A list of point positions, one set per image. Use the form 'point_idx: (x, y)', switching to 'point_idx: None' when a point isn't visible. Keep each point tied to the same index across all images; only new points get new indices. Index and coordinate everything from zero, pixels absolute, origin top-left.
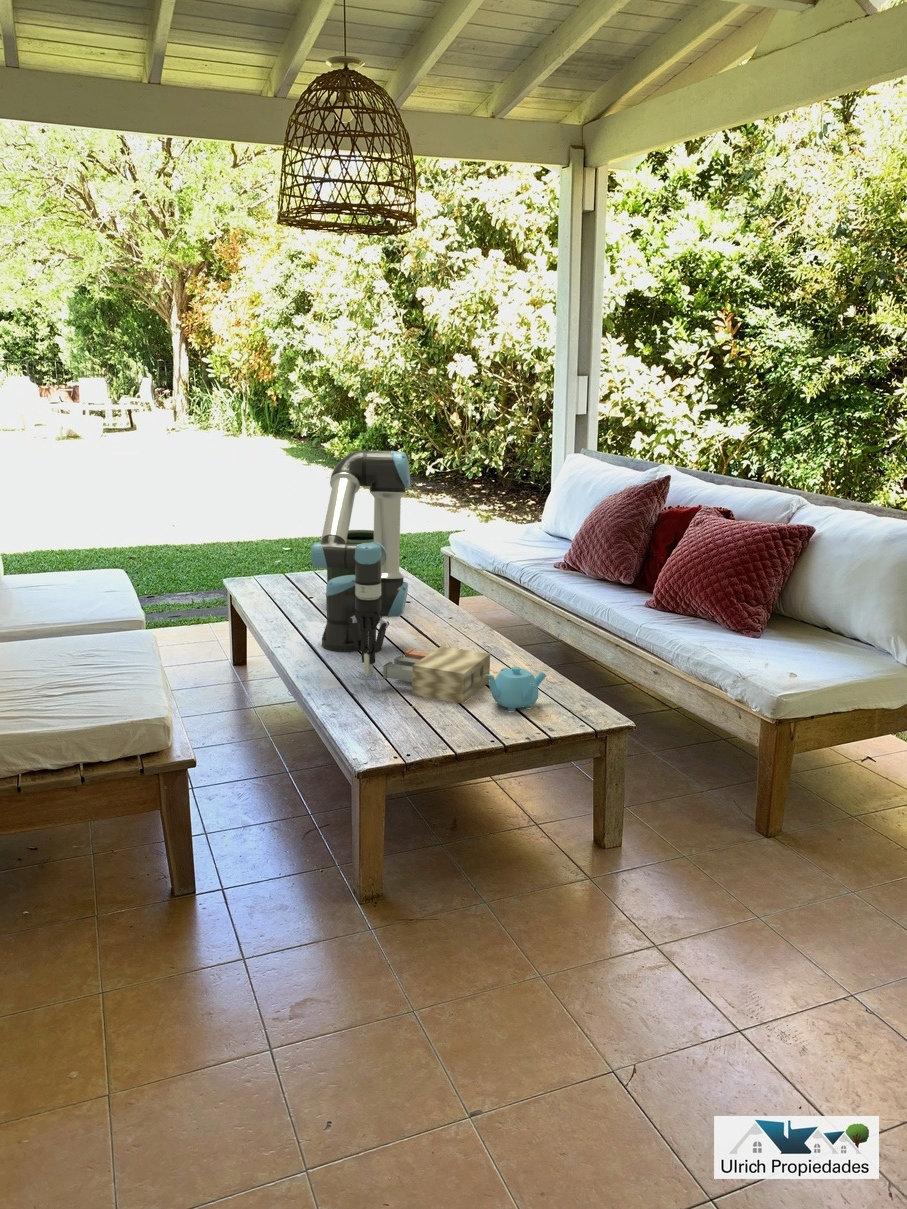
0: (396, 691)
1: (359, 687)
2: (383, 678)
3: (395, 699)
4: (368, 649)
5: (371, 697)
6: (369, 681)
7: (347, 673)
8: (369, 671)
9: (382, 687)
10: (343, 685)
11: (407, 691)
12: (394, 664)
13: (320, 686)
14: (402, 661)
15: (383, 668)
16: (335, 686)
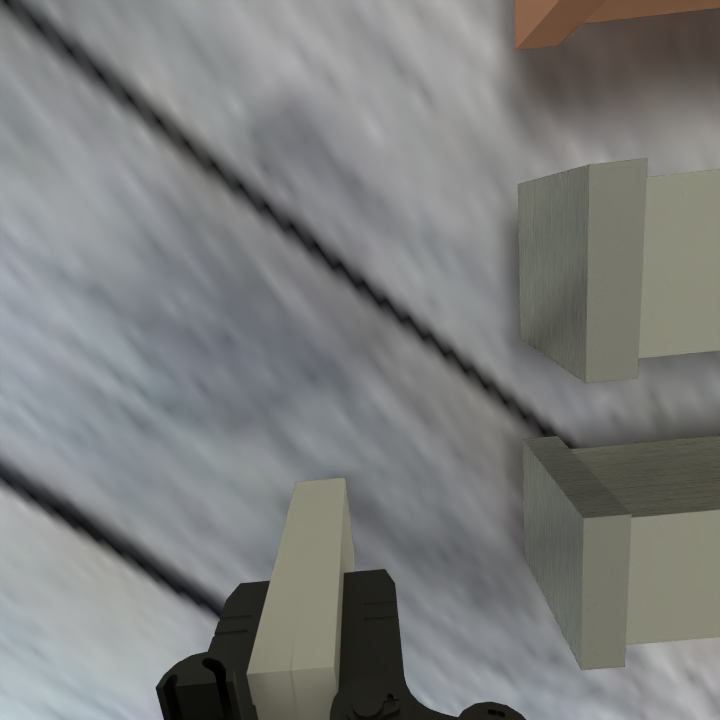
0: None
1: None
2: (527, 557)
3: None
4: (240, 702)
5: (517, 678)
6: (313, 436)
7: (28, 375)
8: (353, 561)
9: (482, 492)
10: (204, 602)
11: None
12: (670, 533)
13: (88, 690)
14: (706, 350)
15: (568, 637)
16: (171, 643)
